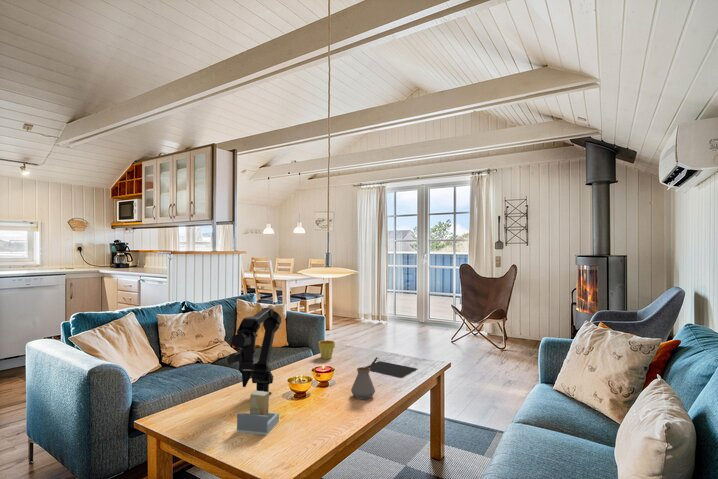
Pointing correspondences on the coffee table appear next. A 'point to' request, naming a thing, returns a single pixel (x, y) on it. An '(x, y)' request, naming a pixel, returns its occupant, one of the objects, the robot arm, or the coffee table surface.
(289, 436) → the coffee table surface
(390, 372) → the tablet
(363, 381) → the coffee pot
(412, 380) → the coffee table surface
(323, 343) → the plant pot
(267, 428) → the seat tray
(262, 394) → the skincare box
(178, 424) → the coffee table surface
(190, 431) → the coffee table surface
